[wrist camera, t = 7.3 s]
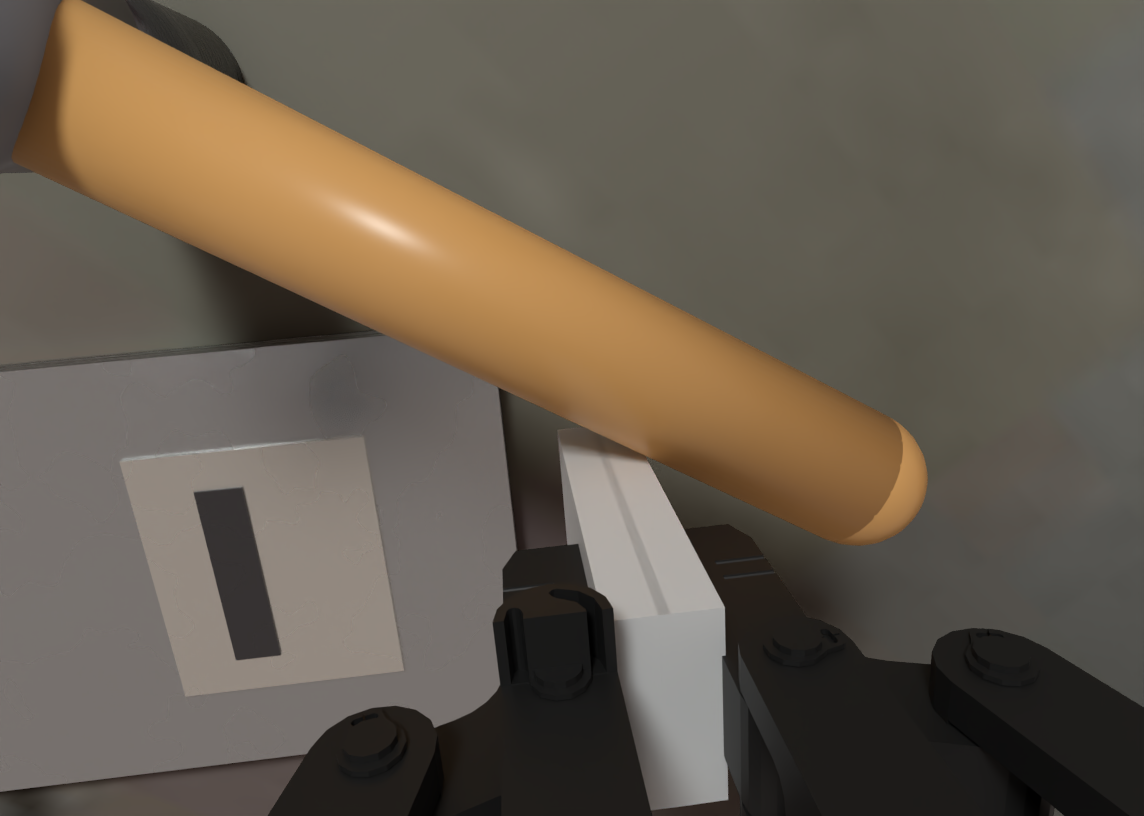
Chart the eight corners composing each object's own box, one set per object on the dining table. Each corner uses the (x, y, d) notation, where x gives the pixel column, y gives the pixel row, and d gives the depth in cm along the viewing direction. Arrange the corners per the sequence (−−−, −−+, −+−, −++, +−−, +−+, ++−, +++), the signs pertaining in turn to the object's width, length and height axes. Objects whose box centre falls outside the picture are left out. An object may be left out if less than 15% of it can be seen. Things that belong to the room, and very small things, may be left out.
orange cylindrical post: (-130, 103, 12) (-365, 81, 9) (-70, -133, 11) (-305, -254, 8) (816, 540, 16) (896, 638, 12) (915, 388, 15) (1028, 451, 12)
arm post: (90, 18, 17) (-96, -47, 12) (228, 8, 17) (106, -60, 12) (125, 161, 18) (-33, 159, 13) (256, 150, 18) (154, 145, 13)
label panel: (-647, 426, 18) (-709, 441, 17) (491, 319, 20) (490, 327, 19) (-407, 822, 22) (-447, 851, 21) (535, 707, 23) (536, 730, 22)
